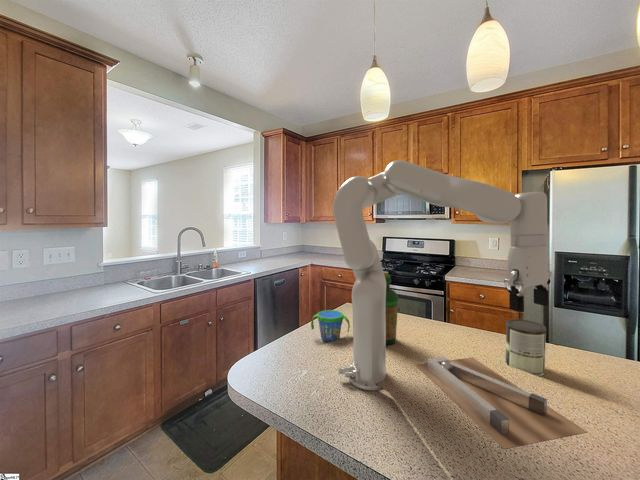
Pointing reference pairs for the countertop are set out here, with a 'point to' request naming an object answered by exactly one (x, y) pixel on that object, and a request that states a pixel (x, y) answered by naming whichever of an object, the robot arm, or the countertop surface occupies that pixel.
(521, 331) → the coffee can
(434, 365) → the tongs fixed arm
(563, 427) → the walnut board
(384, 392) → the countertop surface
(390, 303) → the bottle
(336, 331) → the snack cup
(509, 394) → the tongs arm
